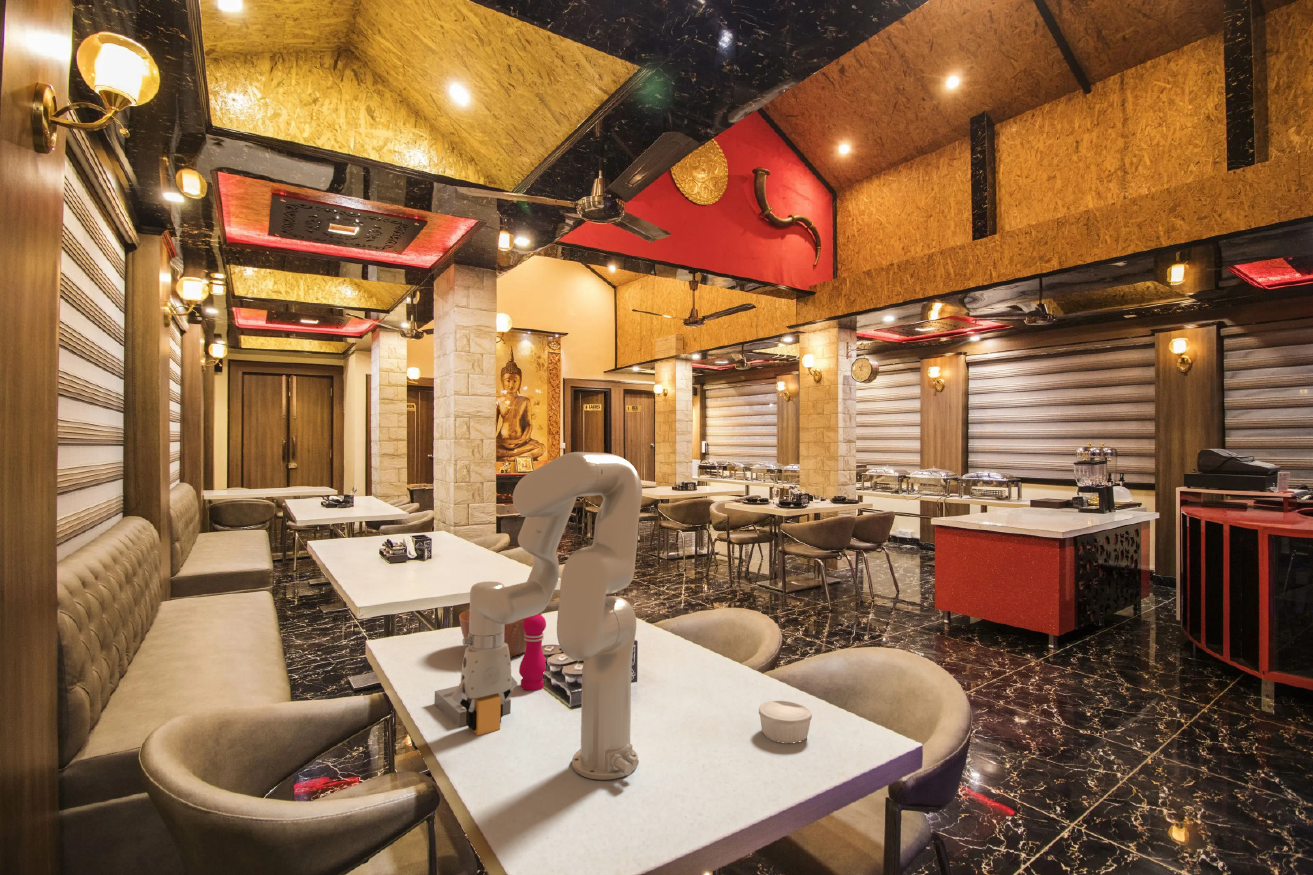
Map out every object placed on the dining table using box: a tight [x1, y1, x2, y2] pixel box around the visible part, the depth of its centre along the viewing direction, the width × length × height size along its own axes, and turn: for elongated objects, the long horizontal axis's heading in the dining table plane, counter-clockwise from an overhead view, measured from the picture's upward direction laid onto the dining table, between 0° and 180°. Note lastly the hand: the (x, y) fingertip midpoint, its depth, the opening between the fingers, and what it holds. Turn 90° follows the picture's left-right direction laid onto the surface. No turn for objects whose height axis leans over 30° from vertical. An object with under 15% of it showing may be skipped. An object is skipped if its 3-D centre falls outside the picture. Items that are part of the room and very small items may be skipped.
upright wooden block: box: [471, 694, 501, 736], centre depth 129 cm, size 5×5×7 cm
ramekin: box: [758, 700, 813, 744], centre depth 128 cm, size 11×11×5 cm
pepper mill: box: [518, 614, 547, 692], centre depth 155 cm, size 7×7×20 cm
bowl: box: [458, 609, 543, 658], centre depth 184 cm, size 25×25×11 cm
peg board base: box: [434, 685, 512, 728], centre depth 140 cm, size 16×12×8 cm
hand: (484, 723), depth 129 cm, fingers closed on upright wooden block, 4 cm apart
